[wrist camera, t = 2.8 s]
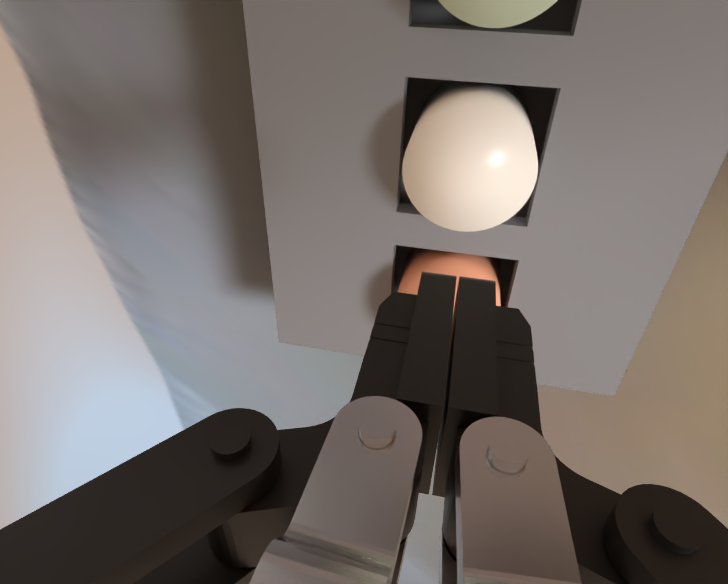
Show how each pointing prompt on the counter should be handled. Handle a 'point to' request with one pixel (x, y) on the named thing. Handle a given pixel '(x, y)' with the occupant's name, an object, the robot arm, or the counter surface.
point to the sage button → (496, 11)
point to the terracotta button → (448, 268)
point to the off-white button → (471, 156)
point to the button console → (553, 146)
